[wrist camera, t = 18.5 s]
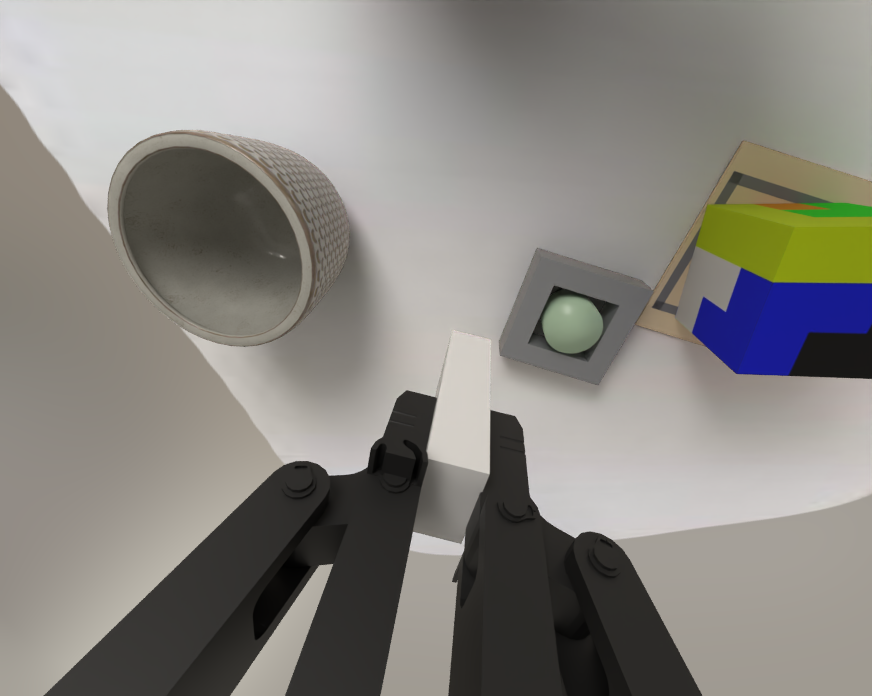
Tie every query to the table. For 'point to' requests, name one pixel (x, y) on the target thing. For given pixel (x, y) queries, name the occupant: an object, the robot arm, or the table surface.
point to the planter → (227, 233)
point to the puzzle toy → (783, 288)
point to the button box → (553, 269)
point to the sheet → (750, 184)
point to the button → (571, 321)
